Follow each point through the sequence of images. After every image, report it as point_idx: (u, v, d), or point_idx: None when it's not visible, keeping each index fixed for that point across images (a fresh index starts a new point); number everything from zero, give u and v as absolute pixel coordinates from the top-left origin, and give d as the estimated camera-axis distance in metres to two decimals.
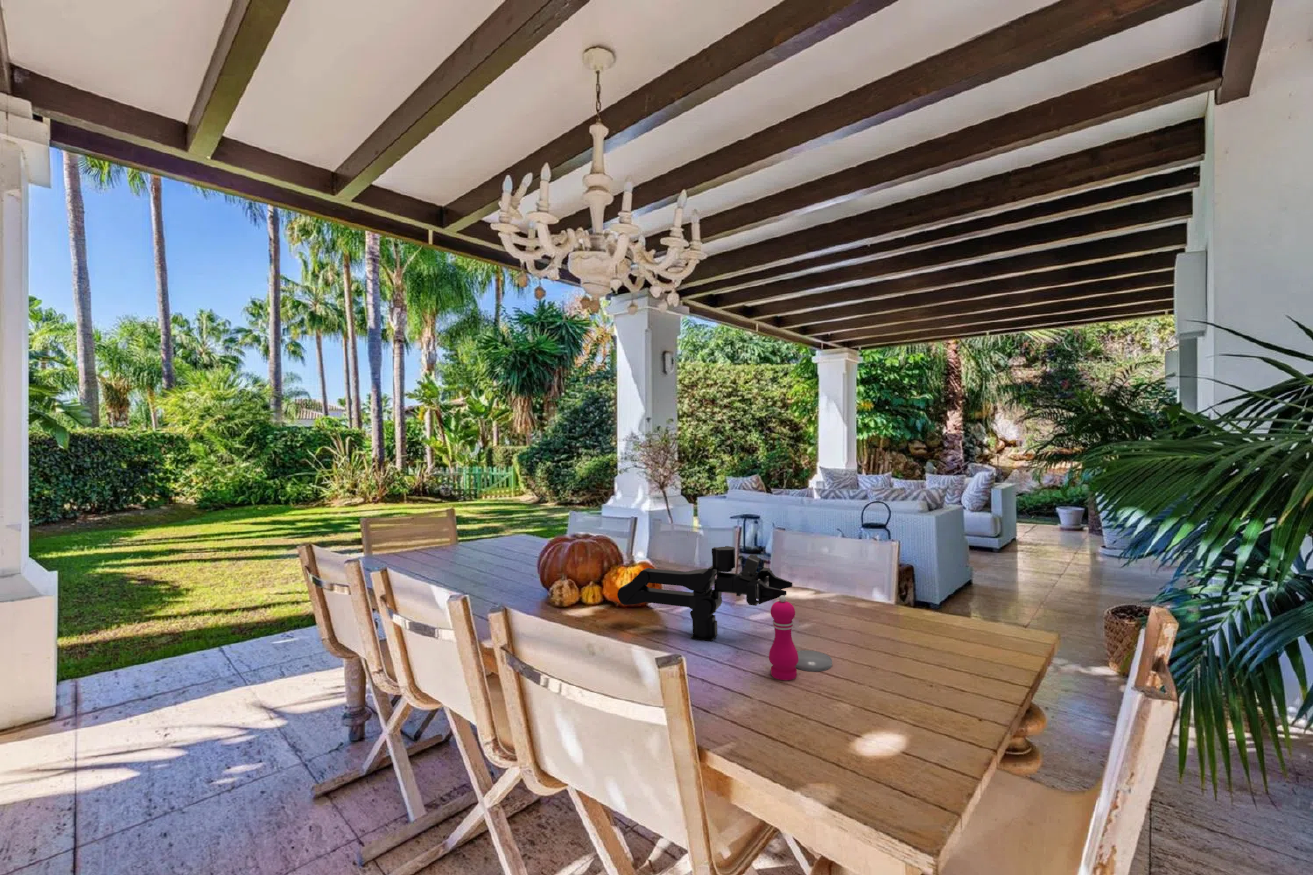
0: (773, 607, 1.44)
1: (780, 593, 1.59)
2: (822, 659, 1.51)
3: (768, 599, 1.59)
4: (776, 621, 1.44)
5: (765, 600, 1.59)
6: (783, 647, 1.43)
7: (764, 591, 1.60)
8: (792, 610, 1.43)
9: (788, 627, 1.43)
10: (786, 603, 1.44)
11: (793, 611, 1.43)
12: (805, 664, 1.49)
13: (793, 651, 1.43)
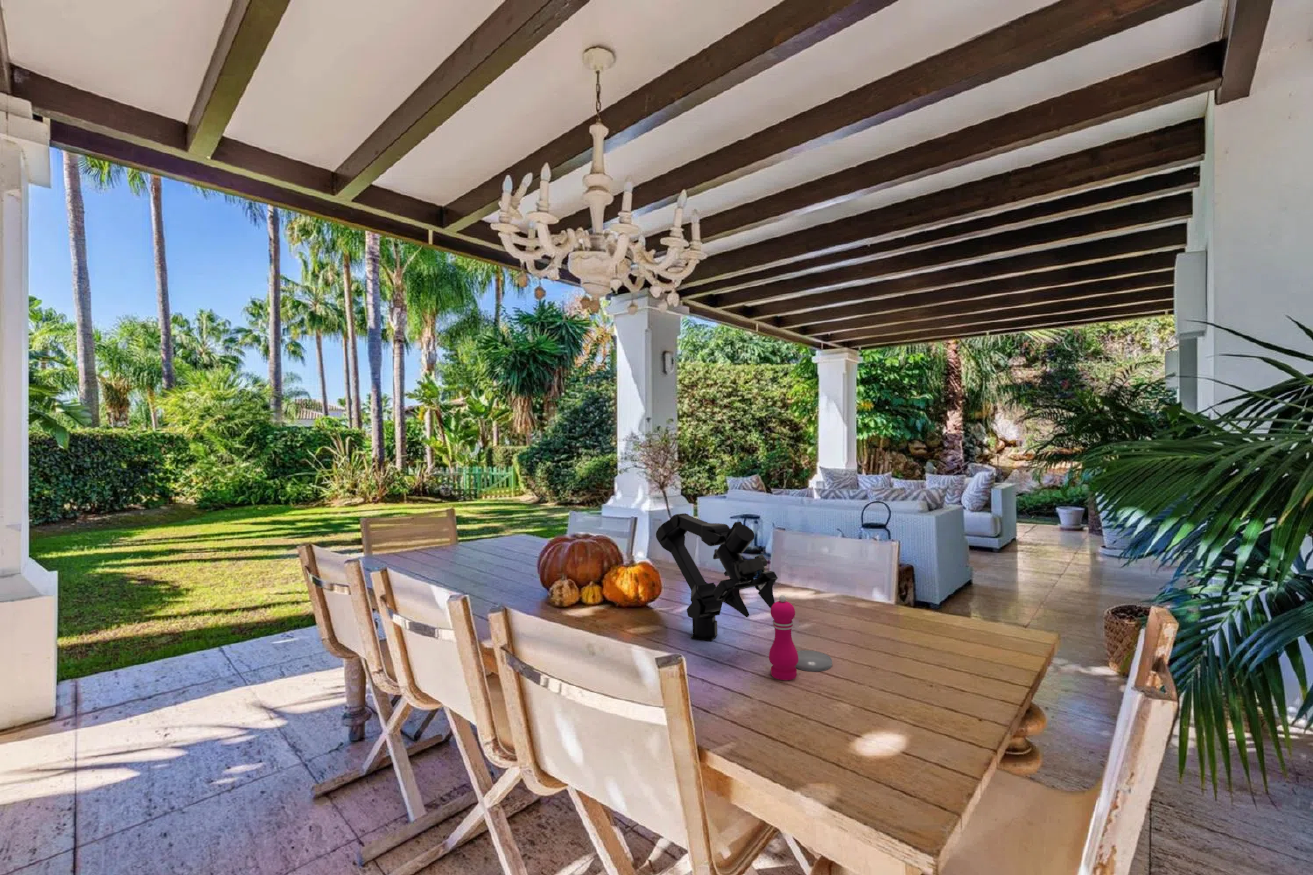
0: (773, 607, 1.44)
1: (743, 611, 1.50)
2: (822, 659, 1.51)
3: (731, 605, 1.52)
4: (776, 621, 1.44)
5: (729, 603, 1.52)
6: (783, 647, 1.43)
7: (734, 597, 1.52)
8: (792, 610, 1.43)
9: (788, 627, 1.43)
10: (786, 603, 1.44)
11: (793, 611, 1.43)
12: (805, 664, 1.49)
13: (793, 651, 1.43)
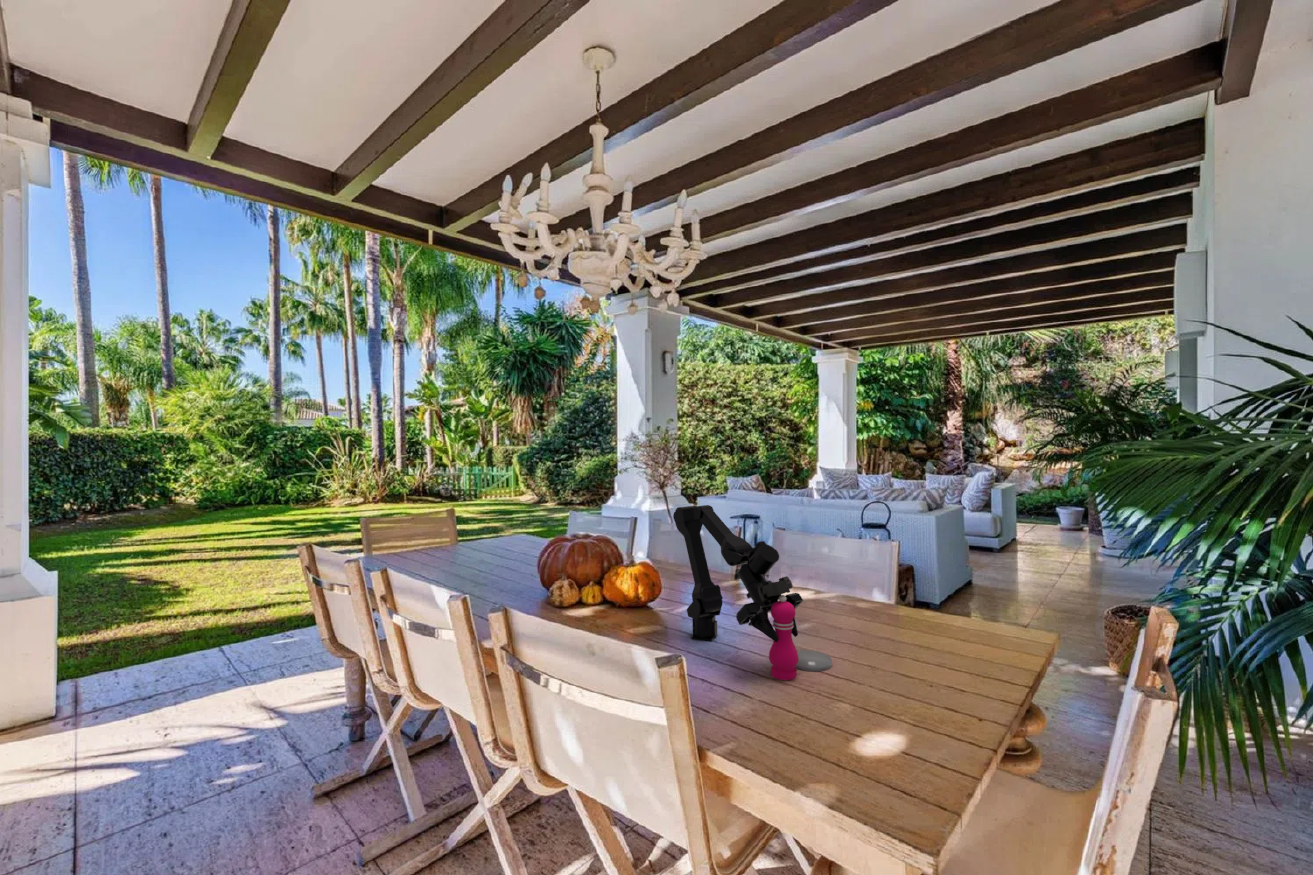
0: (773, 607, 1.44)
1: (772, 635, 1.43)
2: (822, 659, 1.51)
3: (759, 629, 1.45)
4: (776, 621, 1.44)
5: (757, 627, 1.45)
6: (783, 647, 1.43)
7: (762, 620, 1.45)
8: (792, 610, 1.43)
9: (788, 627, 1.43)
10: (786, 603, 1.44)
11: (793, 611, 1.43)
12: (805, 664, 1.49)
13: (793, 651, 1.43)
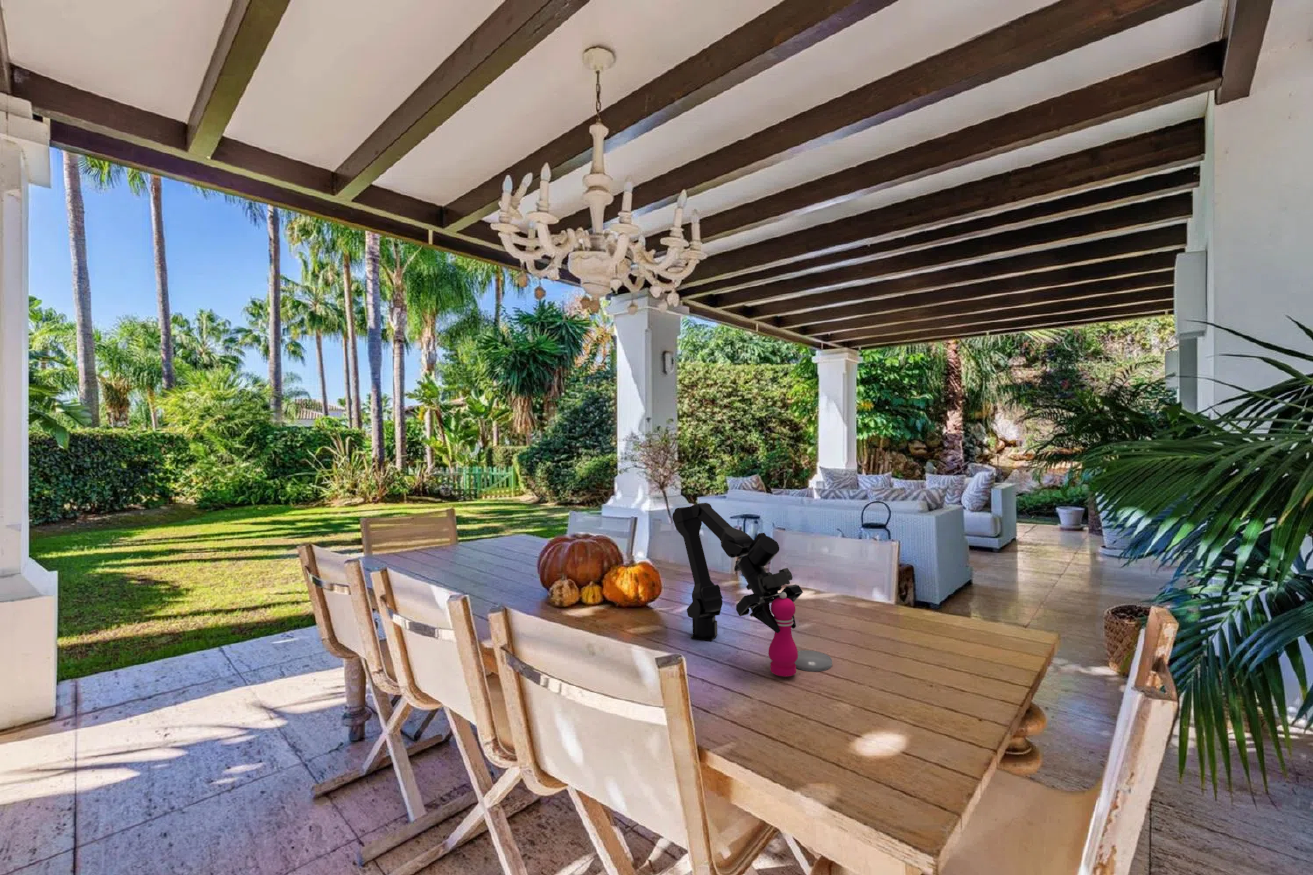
0: (773, 603, 1.44)
1: (773, 626, 1.43)
2: (822, 659, 1.51)
3: (761, 620, 1.45)
4: (776, 617, 1.44)
5: (758, 618, 1.46)
6: (782, 643, 1.43)
7: (764, 611, 1.45)
8: (792, 607, 1.43)
9: (788, 623, 1.43)
10: (786, 600, 1.44)
11: (793, 608, 1.43)
12: (805, 664, 1.49)
13: (793, 647, 1.43)
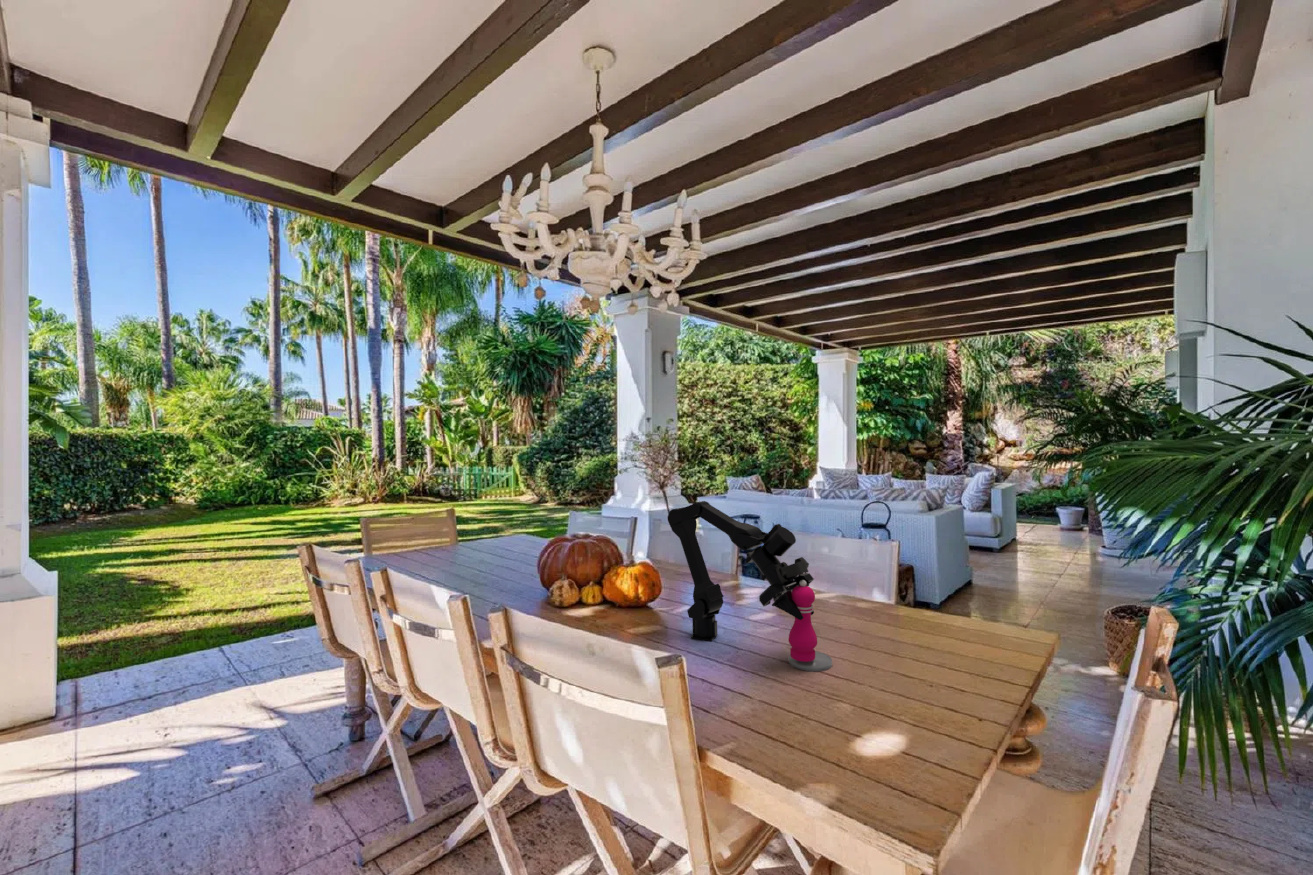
0: (795, 592, 1.48)
1: (796, 614, 1.47)
2: (822, 659, 1.51)
3: (783, 609, 1.49)
4: (798, 605, 1.48)
5: (780, 607, 1.49)
6: (805, 629, 1.47)
7: (785, 600, 1.49)
8: (813, 594, 1.48)
9: (810, 610, 1.48)
10: (807, 587, 1.49)
11: (814, 594, 1.48)
12: (805, 664, 1.49)
13: (814, 633, 1.48)
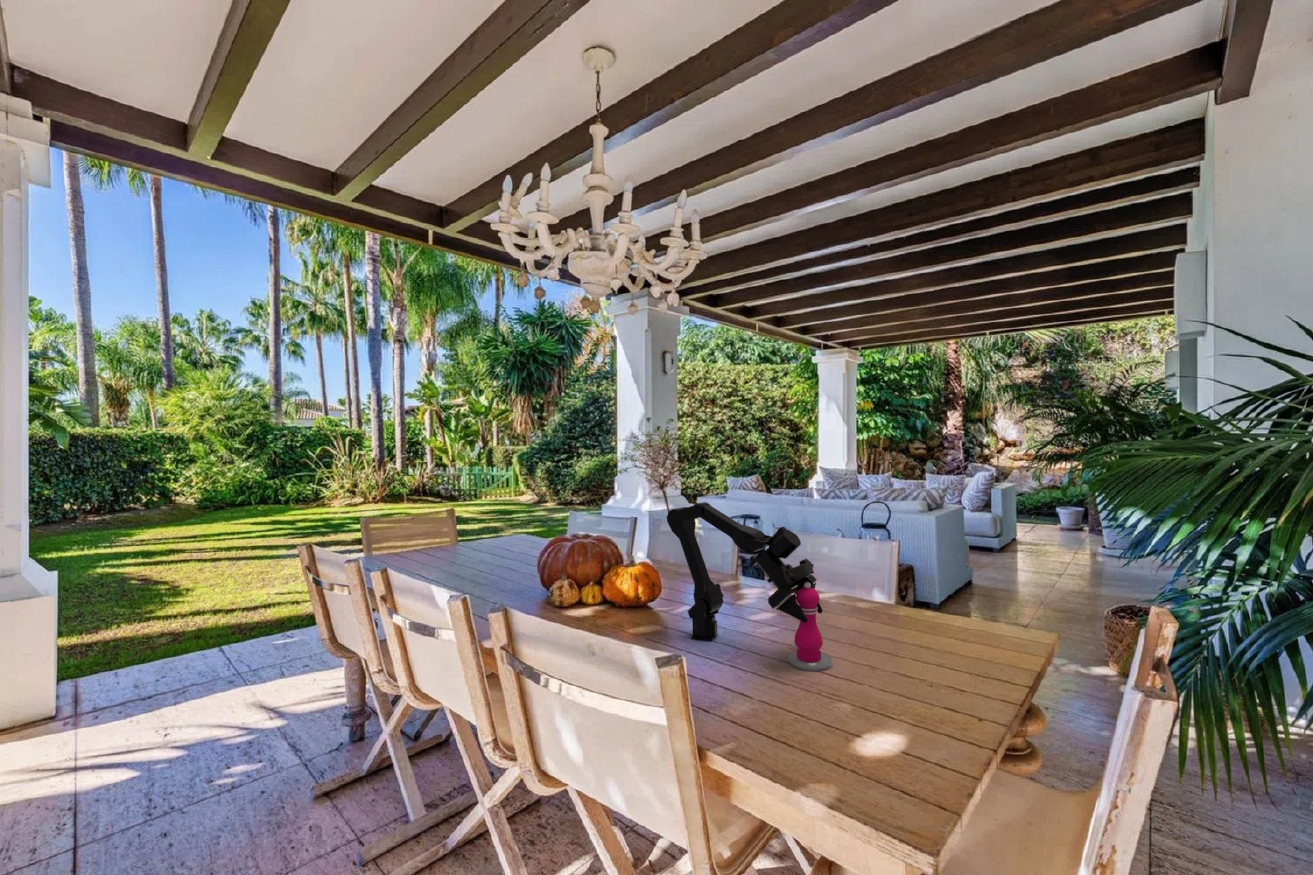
0: (801, 594, 1.51)
1: (801, 617, 1.48)
2: (822, 659, 1.51)
3: (787, 612, 1.49)
4: (804, 607, 1.51)
5: (784, 611, 1.49)
6: (811, 630, 1.50)
7: (790, 603, 1.49)
8: (818, 595, 1.51)
9: (815, 611, 1.51)
10: (812, 589, 1.52)
11: (818, 596, 1.51)
12: (805, 664, 1.49)
13: (820, 633, 1.51)
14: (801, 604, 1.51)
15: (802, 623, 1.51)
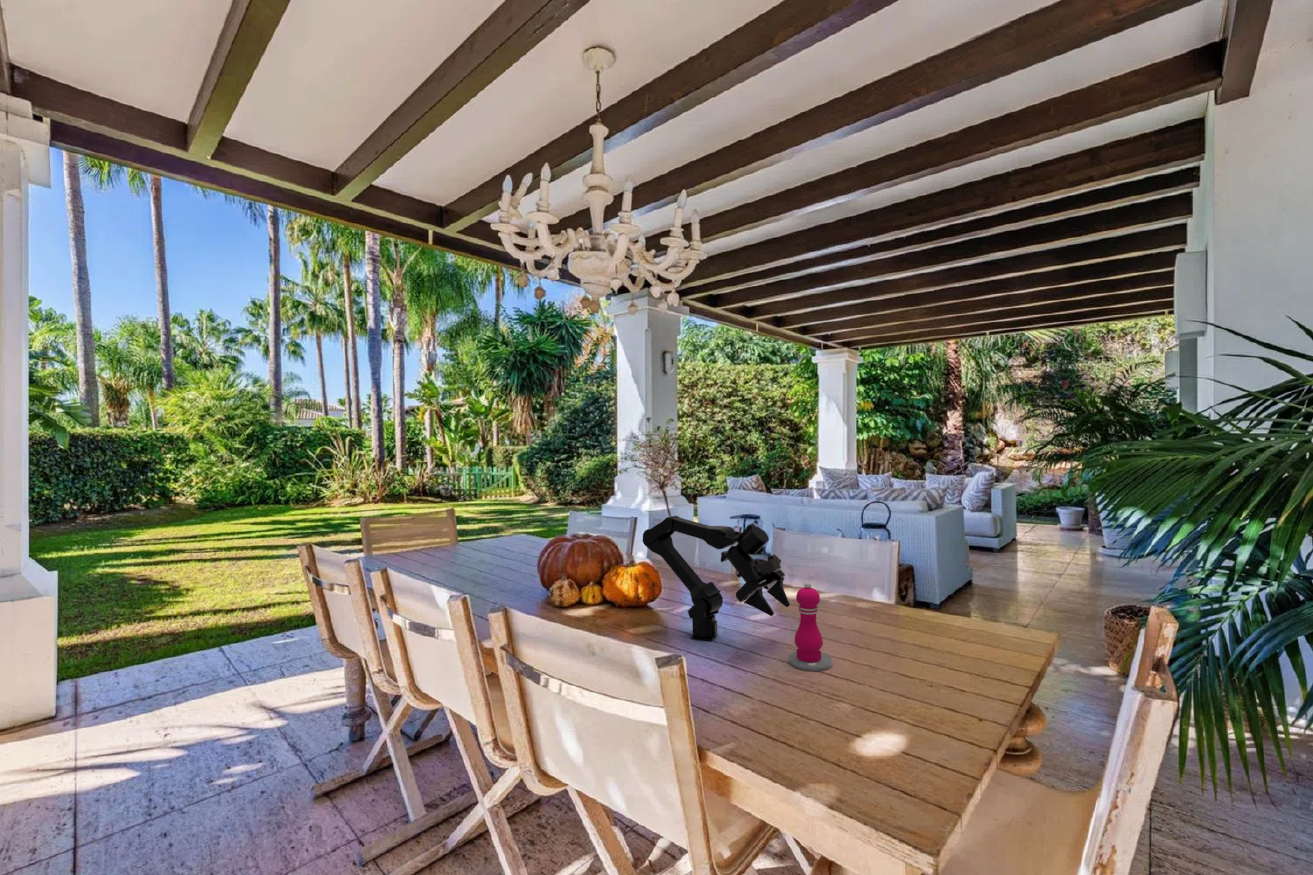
0: (801, 594, 1.51)
1: (767, 610, 1.54)
2: (822, 659, 1.51)
3: (754, 606, 1.55)
4: (804, 607, 1.51)
5: (751, 604, 1.55)
6: (811, 630, 1.50)
7: (757, 597, 1.55)
8: (818, 595, 1.51)
9: (815, 611, 1.51)
10: (812, 589, 1.52)
11: (819, 596, 1.51)
12: (805, 664, 1.49)
13: (820, 633, 1.51)
14: (801, 604, 1.51)
15: (802, 623, 1.51)
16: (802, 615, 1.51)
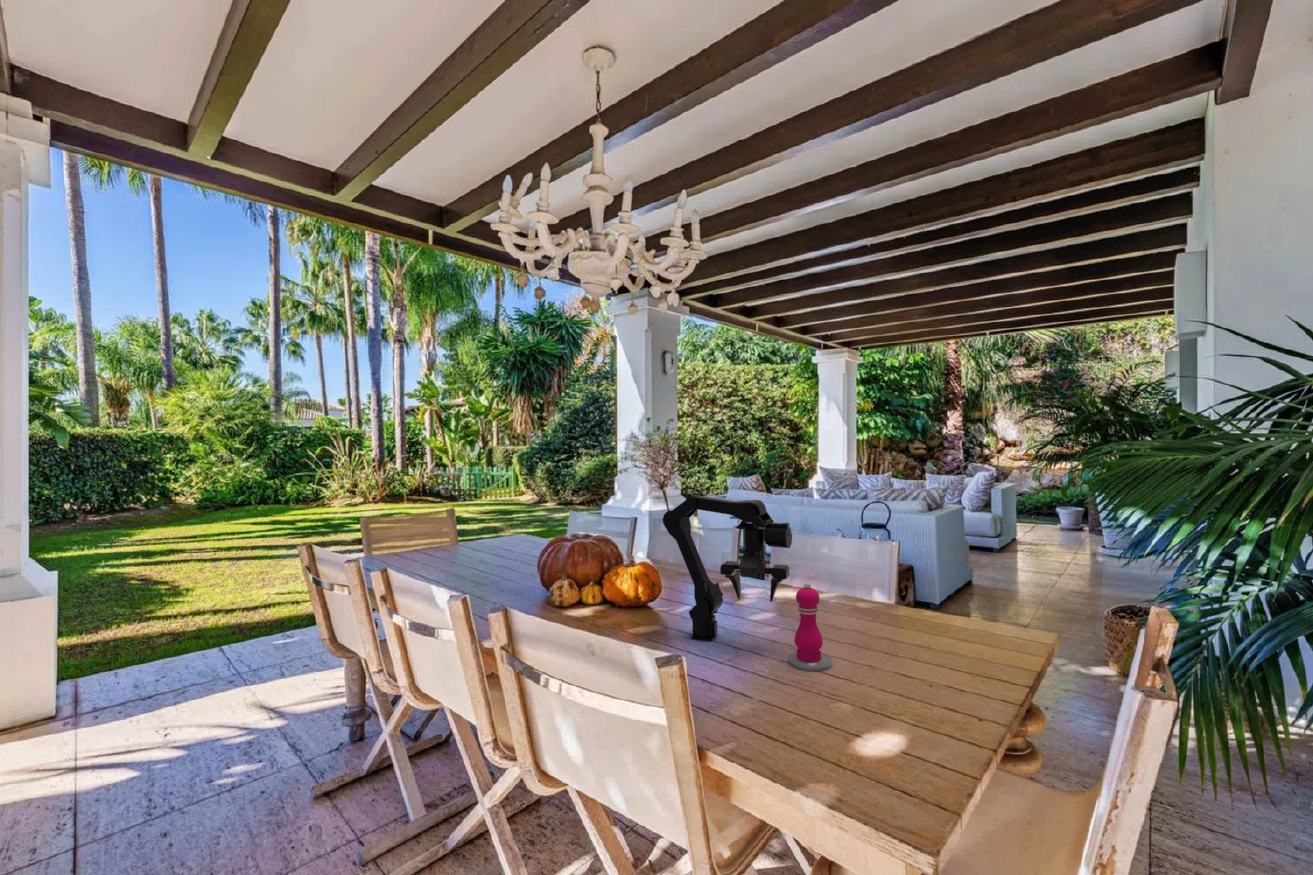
0: (801, 594, 1.51)
1: None
2: (822, 659, 1.51)
3: None
4: (804, 607, 1.51)
5: None
6: (811, 630, 1.50)
7: None
8: (818, 595, 1.51)
9: (815, 611, 1.51)
10: (812, 589, 1.52)
11: (818, 596, 1.51)
12: (805, 664, 1.49)
13: (820, 633, 1.51)
14: (801, 604, 1.51)
15: (802, 623, 1.51)
16: (802, 615, 1.51)
